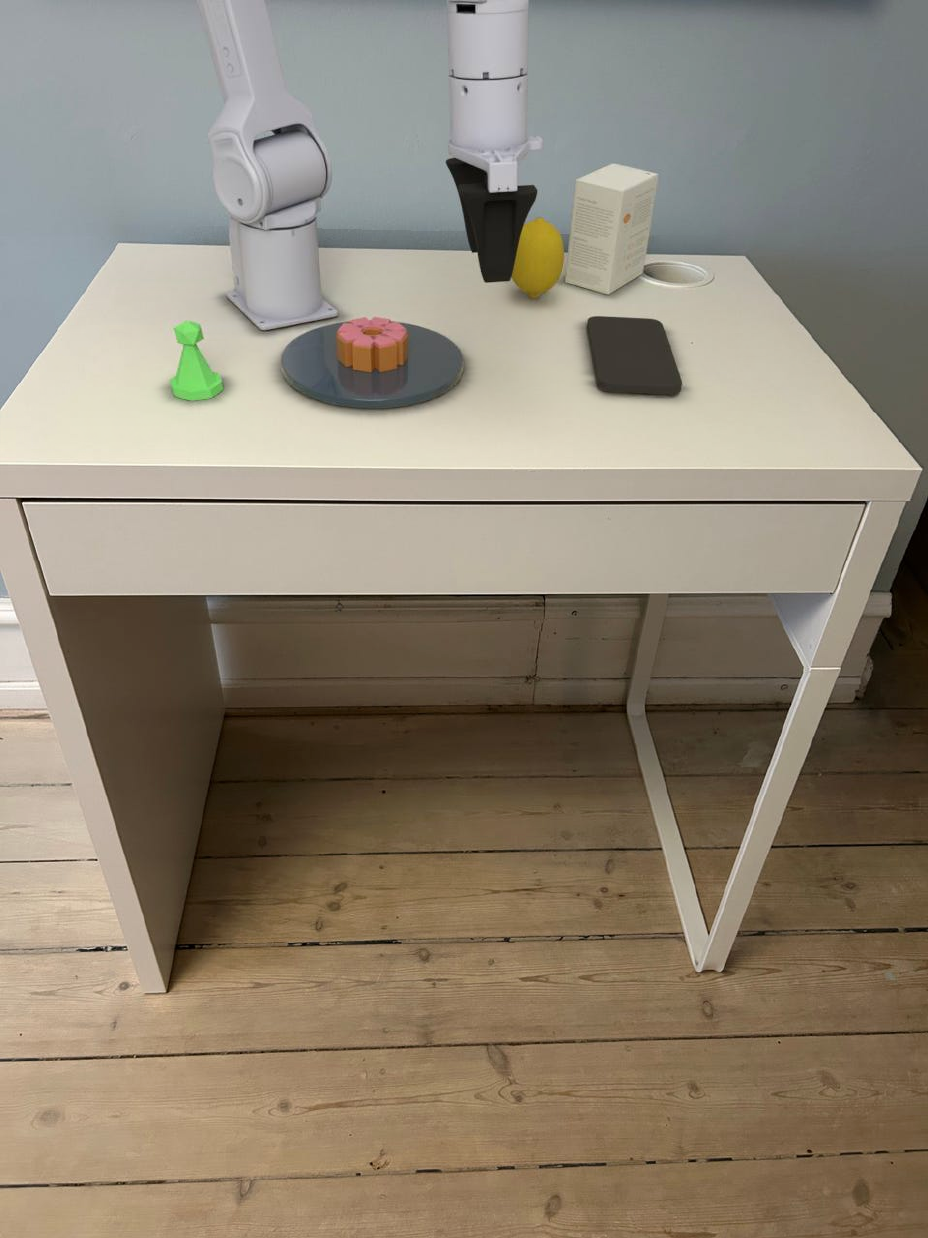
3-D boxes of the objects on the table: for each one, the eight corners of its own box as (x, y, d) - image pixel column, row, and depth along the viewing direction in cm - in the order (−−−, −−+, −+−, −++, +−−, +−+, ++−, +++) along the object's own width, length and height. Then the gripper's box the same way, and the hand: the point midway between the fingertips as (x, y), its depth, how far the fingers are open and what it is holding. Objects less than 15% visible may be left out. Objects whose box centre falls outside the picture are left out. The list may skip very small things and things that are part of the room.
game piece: (228, 378, 82) (219, 310, 78) (217, 401, 79) (208, 332, 75) (177, 376, 82) (166, 308, 78) (165, 399, 79) (152, 330, 75)
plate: (253, 349, 86) (252, 339, 86) (408, 318, 93) (408, 308, 92) (329, 427, 76) (328, 416, 75) (497, 385, 83) (498, 375, 82)
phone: (661, 318, 93) (685, 388, 82) (660, 327, 94) (683, 396, 82) (586, 315, 93) (598, 383, 82) (585, 323, 94) (597, 392, 82)
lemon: (556, 311, 96) (564, 229, 91) (501, 304, 97) (507, 223, 91) (562, 290, 100) (571, 211, 95) (510, 284, 101) (516, 205, 96)
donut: (327, 350, 85) (325, 323, 83) (387, 337, 87) (386, 311, 86) (357, 377, 81) (356, 350, 79) (419, 363, 83) (419, 337, 82)
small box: (599, 262, 107) (612, 161, 100) (644, 274, 104) (660, 172, 98) (562, 282, 102) (573, 177, 95) (608, 296, 99) (623, 189, 93)
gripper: (562, 87, 64) (556, 291, 72) (525, 56, 75) (523, 236, 83) (457, 92, 63) (463, 297, 71) (436, 61, 74) (443, 241, 83)
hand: (489, 265), depth 77 cm, fingers open, 7 cm apart
